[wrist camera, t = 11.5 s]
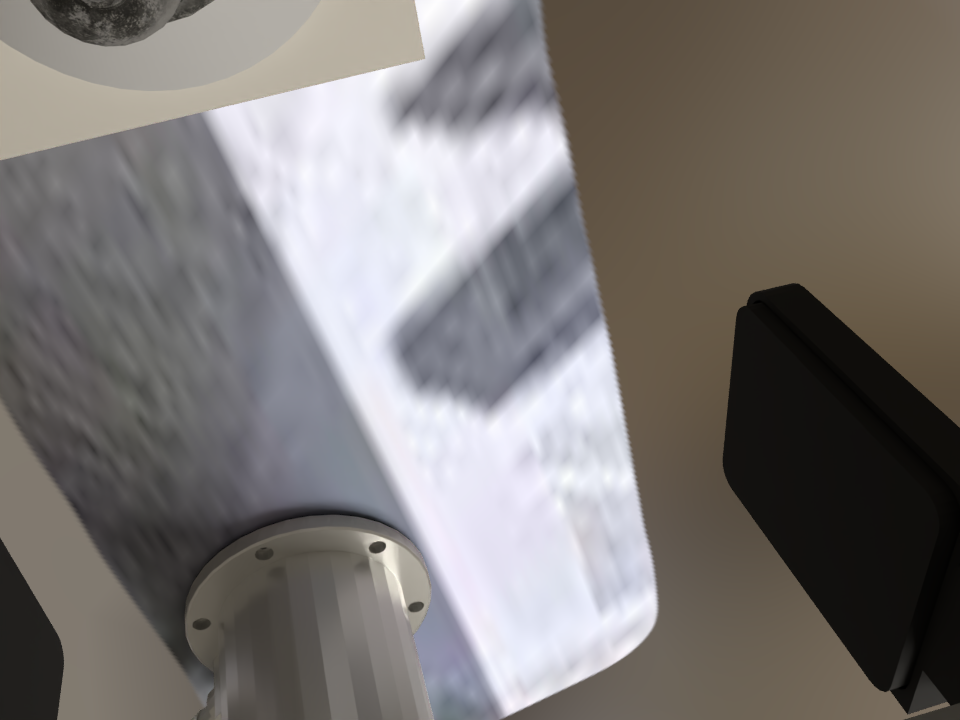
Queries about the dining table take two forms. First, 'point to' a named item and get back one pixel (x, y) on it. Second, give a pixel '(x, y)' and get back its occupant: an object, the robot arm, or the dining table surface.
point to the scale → (186, 64)
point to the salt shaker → (115, 18)
